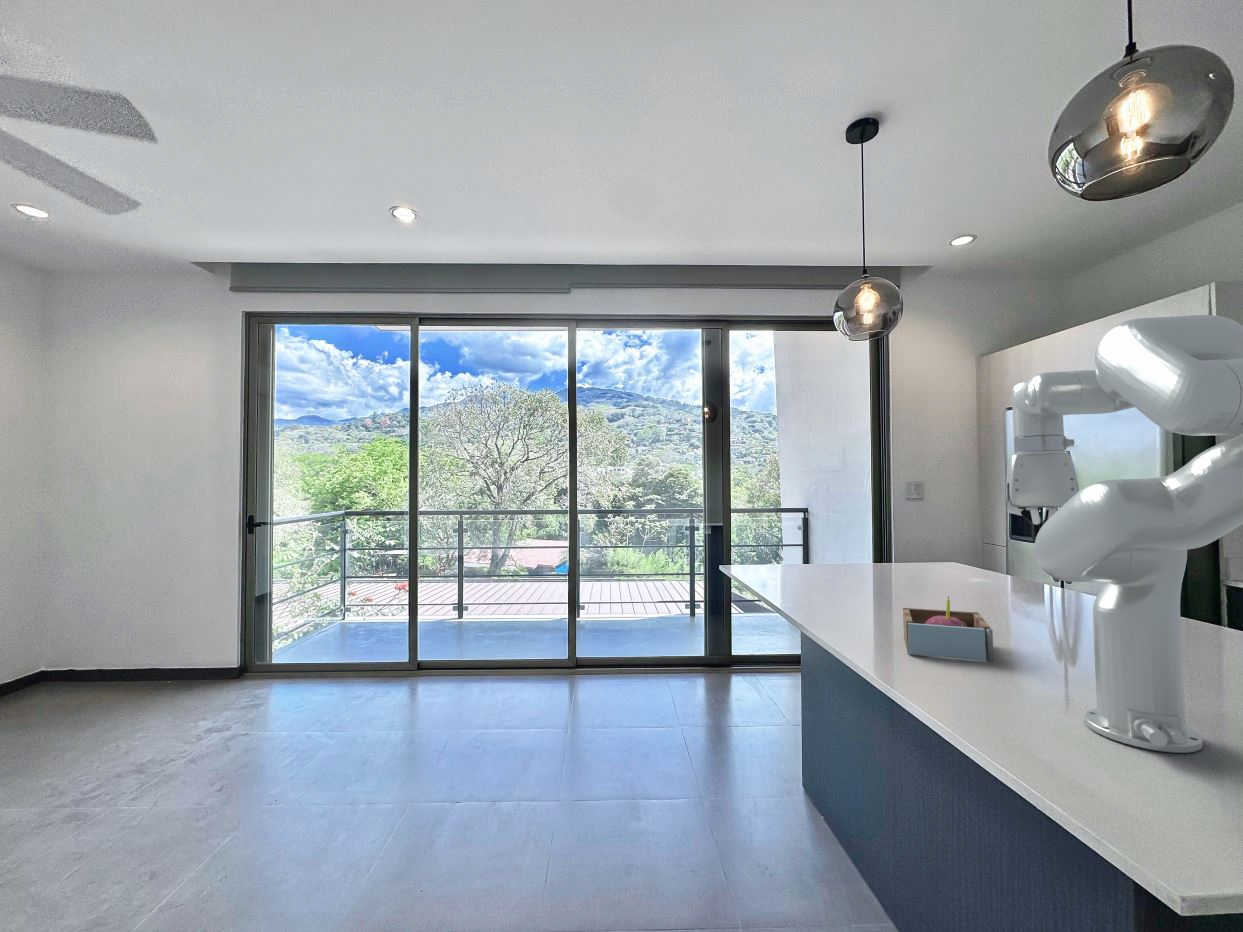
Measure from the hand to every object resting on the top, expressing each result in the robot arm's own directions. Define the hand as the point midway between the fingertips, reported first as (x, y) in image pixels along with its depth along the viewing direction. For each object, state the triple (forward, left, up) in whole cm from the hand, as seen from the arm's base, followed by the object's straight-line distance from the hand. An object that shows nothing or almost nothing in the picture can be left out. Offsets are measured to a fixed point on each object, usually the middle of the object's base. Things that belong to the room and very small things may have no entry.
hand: (1043, 545), depth 103 cm
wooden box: (+17, +15, -25) cm, 34 cm away
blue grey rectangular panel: (+9, +15, -25) cm, 30 cm away
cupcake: (+18, +15, -25) cm, 34 cm away
